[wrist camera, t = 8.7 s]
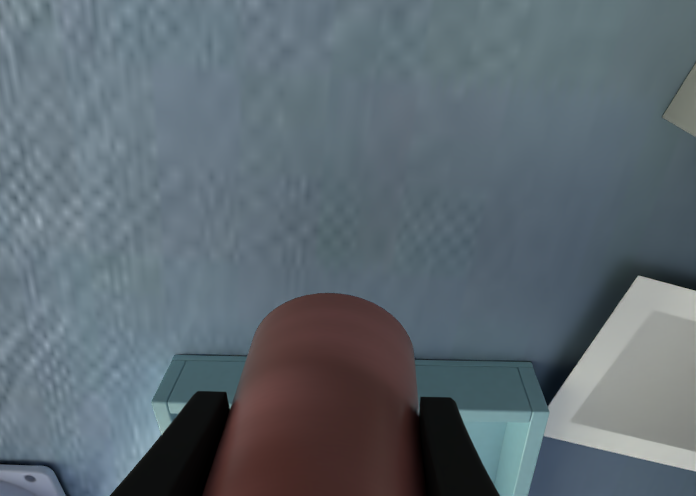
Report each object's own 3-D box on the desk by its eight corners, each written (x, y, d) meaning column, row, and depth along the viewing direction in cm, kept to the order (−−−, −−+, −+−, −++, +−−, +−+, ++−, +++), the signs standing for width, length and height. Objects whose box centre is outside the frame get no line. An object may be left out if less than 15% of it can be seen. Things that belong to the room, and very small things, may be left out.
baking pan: (222, 539, 27) (209, 590, 25) (174, 354, 20) (150, 402, 18) (490, 549, 26) (500, 603, 24) (531, 361, 20) (550, 412, 17)
